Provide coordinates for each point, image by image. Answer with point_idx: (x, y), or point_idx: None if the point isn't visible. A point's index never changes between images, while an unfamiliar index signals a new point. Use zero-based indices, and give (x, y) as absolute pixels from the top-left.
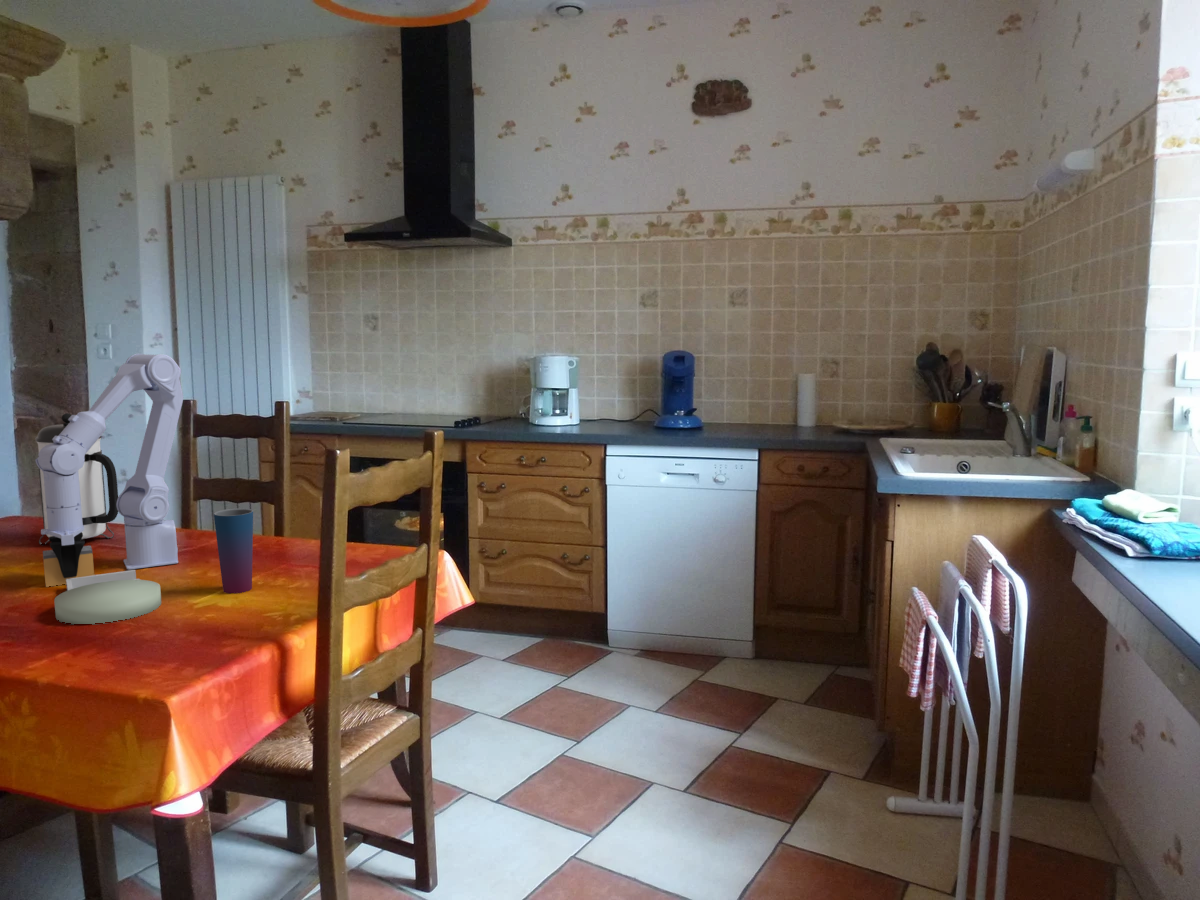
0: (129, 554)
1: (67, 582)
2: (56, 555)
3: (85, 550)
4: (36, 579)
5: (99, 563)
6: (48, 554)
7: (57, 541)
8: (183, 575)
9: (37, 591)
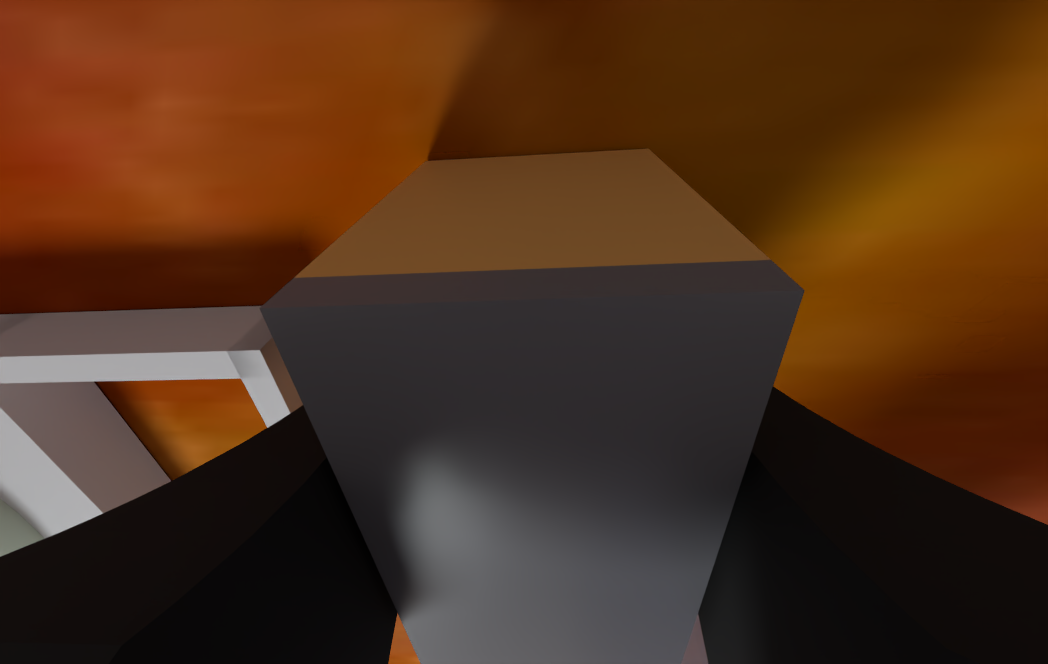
0: (689, 643)
1: (140, 358)
2: (171, 484)
3: (439, 654)
4: (815, 53)
5: (933, 469)
6: (369, 384)
7: (823, 656)
8: (402, 645)
9: (302, 92)
